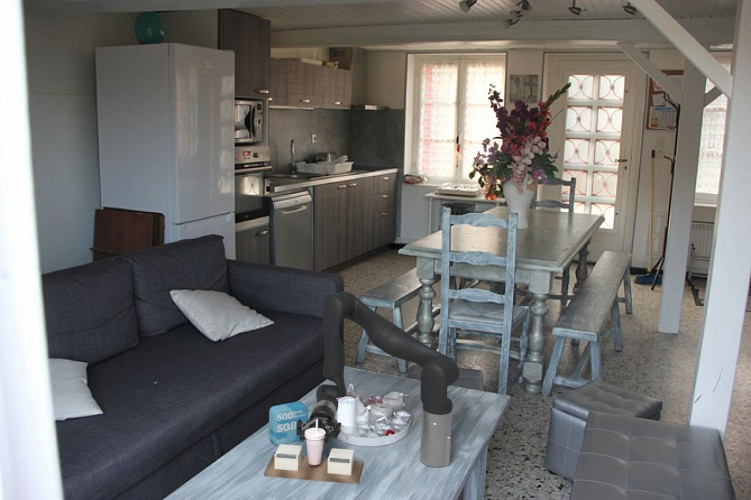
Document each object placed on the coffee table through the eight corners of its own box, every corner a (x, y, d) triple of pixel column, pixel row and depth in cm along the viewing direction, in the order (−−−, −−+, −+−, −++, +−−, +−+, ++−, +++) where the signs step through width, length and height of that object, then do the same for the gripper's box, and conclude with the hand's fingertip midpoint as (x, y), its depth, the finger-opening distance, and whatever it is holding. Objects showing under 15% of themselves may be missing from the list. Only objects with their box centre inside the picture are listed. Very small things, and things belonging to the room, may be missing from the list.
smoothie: (316, 469, 205) (317, 425, 202) (299, 463, 208) (300, 419, 206) (329, 460, 210) (330, 417, 208) (312, 454, 214) (313, 412, 211)
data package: (274, 447, 223) (274, 412, 221) (268, 441, 227) (269, 406, 225) (307, 439, 230) (308, 405, 227) (302, 433, 233) (302, 400, 231)
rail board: (362, 464, 214) (363, 446, 213) (358, 483, 203) (358, 465, 201) (273, 456, 217) (274, 439, 216) (264, 476, 205) (264, 458, 204)
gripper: (301, 403, 222) (290, 426, 205) (345, 406, 220) (338, 429, 204) (300, 424, 223) (289, 449, 207) (345, 428, 222) (337, 453, 205)
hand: (313, 439), depth 205 cm, fingers closed on smoothie, 6 cm apart
